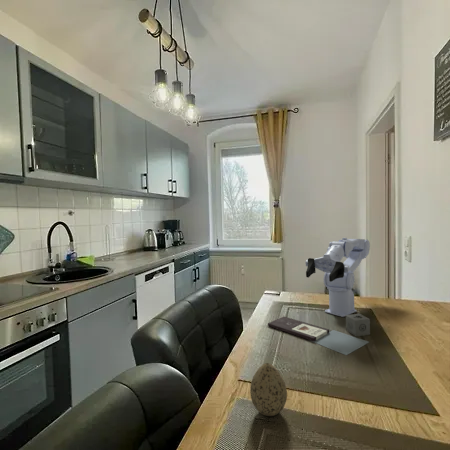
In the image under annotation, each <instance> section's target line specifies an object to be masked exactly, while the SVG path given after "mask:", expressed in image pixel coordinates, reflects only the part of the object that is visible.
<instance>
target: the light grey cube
mask: <svg viewBox="0 0 450 450" xmlns="http://www.w3.org/2000/svg"><path fill="white" fill-rule="evenodd" d="M370 320H371V319H370V318H369V317H366V316H365V315H363V314H361V313H356V314H355V313H354V314H353V313H351V314H349V315H346V316H345V330H346V331H347V332H349V333H350V334H351V335H353V337H360V336H361V337H362V336H368V335H371V325H370V324H371V321H370Z"/></svg>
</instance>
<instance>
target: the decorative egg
mask: <svg viewBox="0 0 450 450" xmlns="http://www.w3.org/2000/svg"><path fill="white" fill-rule="evenodd" d="M287 394H288V393H287V386H286V383H285V381H284V378H283V376H282V374H281V373H280V371H279V370H278V369H277V368H276V367H275V366H274V365H273V364H271V363H269V362H266V363H263V364H261V366H259V368H257V370H256V371H255V373H254V375H253V376H252V379H251V382H250V393H249V395H250V399H251V402H252V405H253V406H254V408H255V409H256V411H258V413H260V414H261V415H263V416H265V417H274V416H276V415H278V414H280V413H281V412H282V411H283V409H284V407H285V406H286V403H287V399H288V398H287V397H288V395H287Z"/></svg>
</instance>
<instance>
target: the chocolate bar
mask: <svg viewBox="0 0 450 450" xmlns="http://www.w3.org/2000/svg"><path fill="white" fill-rule="evenodd" d="M267 327H269V328H273V329H276V330H278V331H282V332H284V333H288V334H291V335H293V336H297V337H299V338H303V339H305V340H308V341H310V340H311V341H310V342H312V341H315V340H317V339H319V338H321V337H322V336H324V335H326V334H328V333H329V332H330V329H328V328H325V327H321V326H318V325H315V324H311V323H308V322H304V321H301V320H298V319H294V318H290V317H288V316H287V317H286V316H282V317H279V318H277V319H274V320H273V321H269V322H268V323H267Z"/></svg>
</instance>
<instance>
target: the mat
mask: <svg viewBox="0 0 450 450" xmlns="http://www.w3.org/2000/svg"><path fill="white" fill-rule="evenodd" d="M309 342H312V343H315V344H316V345H319V346H321V347H324V348H327V349H329V350H332V351H334V352H337V353H340V354H342V355H344V356H348V355H349V354H351V353H354V352H355V351H357V350H358V349H360V348H362V347H365V345H368V344H369V343H370V341H367V340H364V339H361V338H358V337H357V336H354V335H353V336H352V335H350V334H346V333H344V332H341V331H338V330H335V329H332V330H331V331H330V330H329V333H328V334H326V335H324V336H322V337H321V338H319V339H317V340H315V341H311V340H309Z"/></svg>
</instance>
